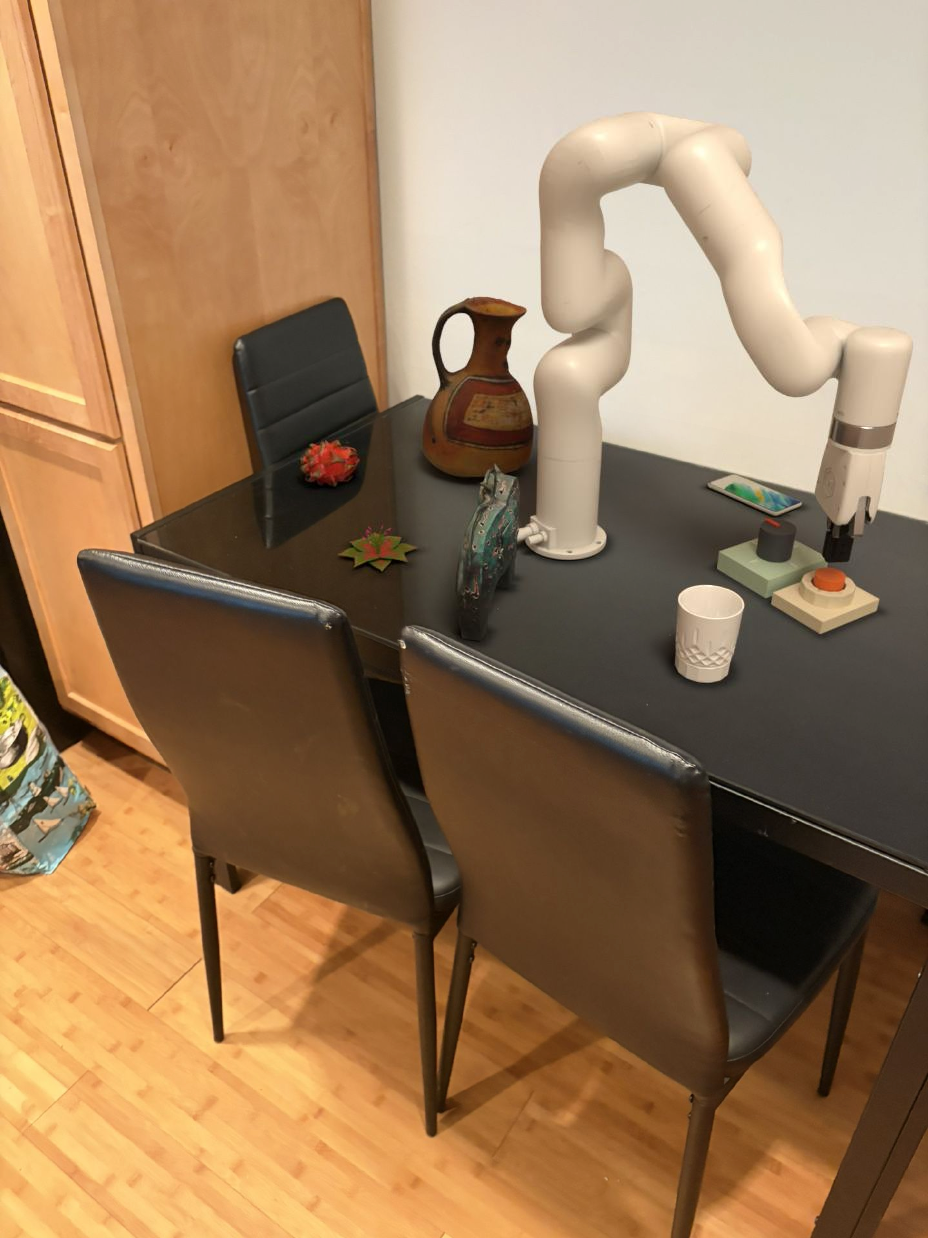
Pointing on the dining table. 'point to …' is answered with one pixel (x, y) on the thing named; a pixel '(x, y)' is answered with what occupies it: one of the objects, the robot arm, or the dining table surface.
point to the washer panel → (768, 567)
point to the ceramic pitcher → (479, 398)
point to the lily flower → (378, 550)
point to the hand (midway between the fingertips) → (835, 559)
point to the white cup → (707, 632)
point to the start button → (829, 579)
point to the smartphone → (754, 494)
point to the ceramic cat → (487, 552)
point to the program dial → (776, 540)
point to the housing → (824, 604)
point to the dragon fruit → (329, 463)
